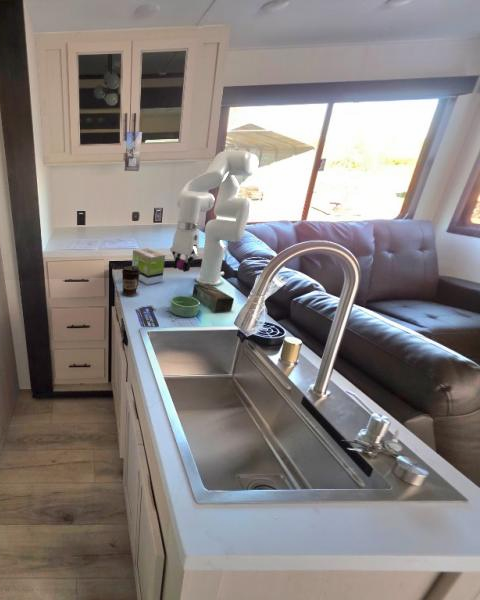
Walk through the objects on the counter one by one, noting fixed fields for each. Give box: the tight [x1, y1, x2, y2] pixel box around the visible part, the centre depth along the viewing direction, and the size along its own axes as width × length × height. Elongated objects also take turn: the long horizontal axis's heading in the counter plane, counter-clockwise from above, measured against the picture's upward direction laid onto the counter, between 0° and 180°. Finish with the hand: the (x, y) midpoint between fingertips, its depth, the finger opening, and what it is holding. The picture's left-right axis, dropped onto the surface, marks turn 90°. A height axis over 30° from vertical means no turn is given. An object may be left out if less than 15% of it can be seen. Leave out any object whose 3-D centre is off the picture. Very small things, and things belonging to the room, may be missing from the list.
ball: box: [176, 259, 186, 271], centre depth 132 cm, size 4×4×4 cm
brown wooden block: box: [191, 282, 235, 313], centre depth 137 cm, size 8×19×7 cm, turn 11°
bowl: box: [169, 295, 201, 318], centre depth 129 cm, size 11×11×5 cm
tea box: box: [131, 247, 166, 286], centre depth 164 cm, size 15×10×15 cm, turn 25°
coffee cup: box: [121, 265, 140, 297], centre depth 146 cm, size 9×8×13 cm
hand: (181, 269), depth 133 cm, fingers closed on ball, 4 cm apart
